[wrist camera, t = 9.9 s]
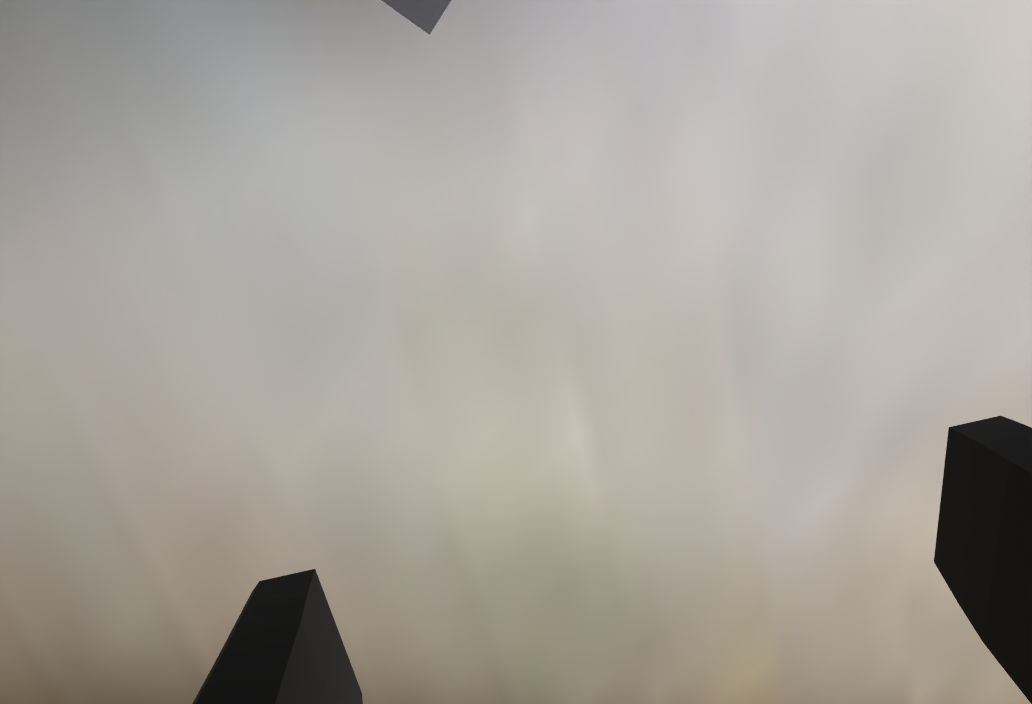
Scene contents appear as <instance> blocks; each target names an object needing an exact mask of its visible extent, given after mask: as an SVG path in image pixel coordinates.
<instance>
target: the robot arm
mask: <svg viewBox="0 0 1032 704" xmlns="http://www.w3.org/2000/svg"><path fill="white" fill-rule="evenodd" d="M934 563H935V564H936V566H937V568H938V569H939V571H940V573H941V574H942V576H943V578H944V580H945V581H946V583H947V585H948V586H949V588H950V590H951V591H952V593H953V595H954V597H955V598H956V600H957V602H958V603H959V605H960V607H961V608H962V610H963V611H964V613H965V614H966V616H967V618H968V619H969V621H970V622H971V624H972V626H973V627H974V629H975V630H976V632H977V633H978V635H979V637H980V638H981V640H982V641H983V643H984V644H985V645H986V646H987V648H988V649H989V650H990V652H991V653H992V654H993V656H994V657H995V658H996V659H997V661H998V662H999V663H1000V665H1001V666H1002V667H1003V668H1004V670H1005V671H1006V672H1007V673H1008V675H1009V676H1010V677H1011V678H1012V680H1013V681H1014V682H1015V684H1016V685H1017V686H1018V687H1019V689H1020V690H1021V691H1022V692H1023V694H1024V695H1025V696H1026V697H1027V699H1028V700H1029V701H1030V703H1031V704H1032V428H1031V427H1028V426H1026V425H1023V424H1021V423H1018V422H1016V421H1013V420H1011V419H1008V418H1005V417H1003V416H998V417H993V418H989V419H984V420H980V421H975V422H971V423H966V424H962V425H957V426H953V427H949V431H948V440H947V449H946V458H945V467H944V476H943V485H942V494H941V503H940V512H939V521H938V530H937V539H936V548H935V557H934ZM193 704H363V702H362V693H361V690H360V687H359V685H358V682H357V679H356V677H355V674H354V671H353V669H352V666H351V663H350V661H349V658H348V655H347V653H346V650H345V647H344V645H343V642H342V639H341V637H340V634H339V631H338V629H337V626H336V623H335V621H334V618H333V616H332V613H331V610H330V608H329V605H328V602H327V600H326V597H325V594H324V592H323V589H322V586H321V584H320V581H319V578H318V576H317V573H316V570H315V569H313V570H308V571H304V572H299V573H295V574H290V575H286V576H281V577H277V578H272V579H268V580H263V581H259V583H258V584H257V586H256V587H255V588H254V590H253V591H252V593H251V595H250V597H249V599H248V601H247V603H246V604H245V606H244V608H243V610H242V612H241V614H240V616H239V618H238V620H237V622H236V624H235V626H234V627H233V629H232V631H231V633H230V635H229V637H228V639H227V641H226V643H225V645H224V647H223V648H222V650H221V652H220V654H219V656H218V658H217V660H216V662H215V663H214V665H213V667H212V669H211V671H210V673H209V674H208V676H207V678H206V680H205V682H204V684H203V685H202V687H201V689H200V691H199V693H198V695H197V696H196V698H195V700H194V702H193Z"/></svg>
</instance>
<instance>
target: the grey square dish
mask: <svg viewBox="0 0 1032 704" xmlns="http://www.w3.org/2000/svg"><path fill="white" fill-rule="evenodd" d="M382 1H383V2H385V3H386V4H387V5H389V6H390V7H392V8H393V9H394V10H396V11H397V12H399V13H400V14H401V15H403V16H404V17H406V18H407V19H408V20H410V21H411V22H413V23H414V24H415V25H417V26H418V27H420V28H421V29H423V30H424V31H425V32H427V33H428V34H430V33H431V31H432V30H433V28H434V27H435V25H436V23H437V22H438V20H439V19H440V17H441V15H442V14H443V12H444V11H445V9H446V8H447V6H448V4H449V3H450V1H451V0H382Z"/></svg>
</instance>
